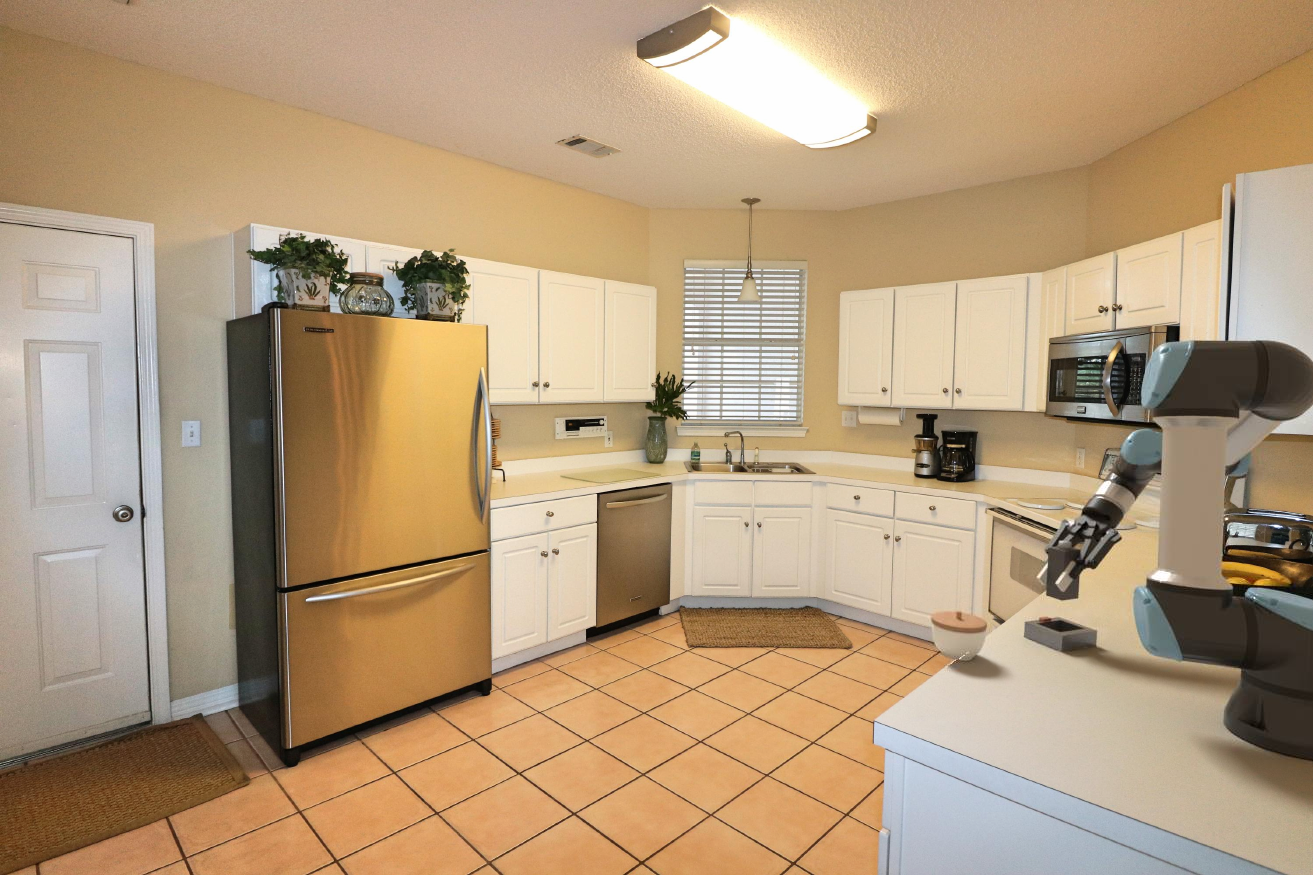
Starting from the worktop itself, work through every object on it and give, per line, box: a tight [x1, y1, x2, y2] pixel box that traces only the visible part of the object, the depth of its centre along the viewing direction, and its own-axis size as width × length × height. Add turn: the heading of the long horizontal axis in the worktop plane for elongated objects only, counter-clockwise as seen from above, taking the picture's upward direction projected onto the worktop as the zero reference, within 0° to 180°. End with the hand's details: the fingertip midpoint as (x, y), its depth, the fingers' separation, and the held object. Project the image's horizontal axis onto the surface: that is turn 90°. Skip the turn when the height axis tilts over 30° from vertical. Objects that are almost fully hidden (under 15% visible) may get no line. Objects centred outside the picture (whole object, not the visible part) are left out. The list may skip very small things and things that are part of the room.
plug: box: [1045, 541, 1081, 602], centre depth 153 cm, size 4×5×12 cm
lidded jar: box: [930, 610, 988, 662], centre depth 145 cm, size 11×11×9 cm
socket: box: [1023, 616, 1098, 652], centre depth 154 cm, size 10×10×4 cm
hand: (1050, 584), depth 152 cm, fingers closed on plug, 4 cm apart
